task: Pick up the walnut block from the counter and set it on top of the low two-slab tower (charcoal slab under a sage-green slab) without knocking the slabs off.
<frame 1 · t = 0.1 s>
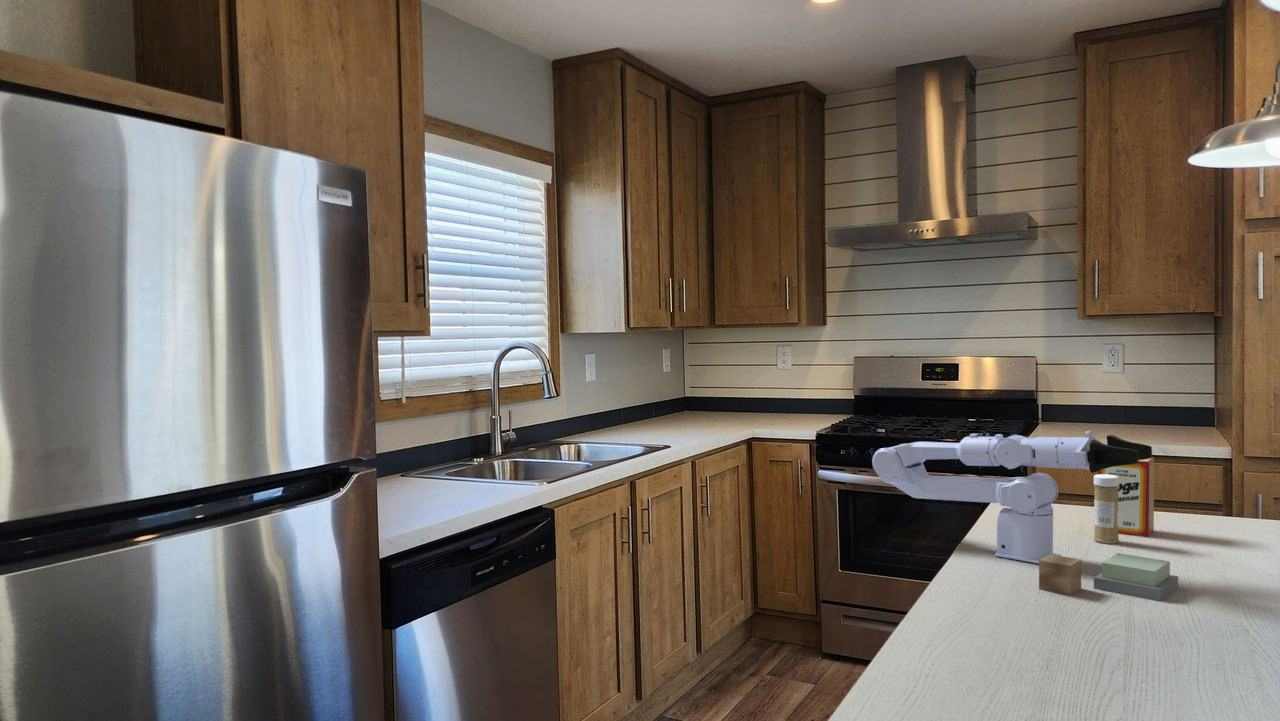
hand: (1144, 454, 154), 22 cm above the countertop, tool horizontal, fingers open, 7 cm apart
sprinkles bottle: (1105, 542, 180), on the countertop
walnut block: (1060, 589, 150), on the countertop
tower base: (1135, 591, 149), on the countertop, touching tower top
tower top: (1135, 576, 149), point 2 cm above the countertop, touching tower base
baking soda box: (1125, 531, 188), on the countertop
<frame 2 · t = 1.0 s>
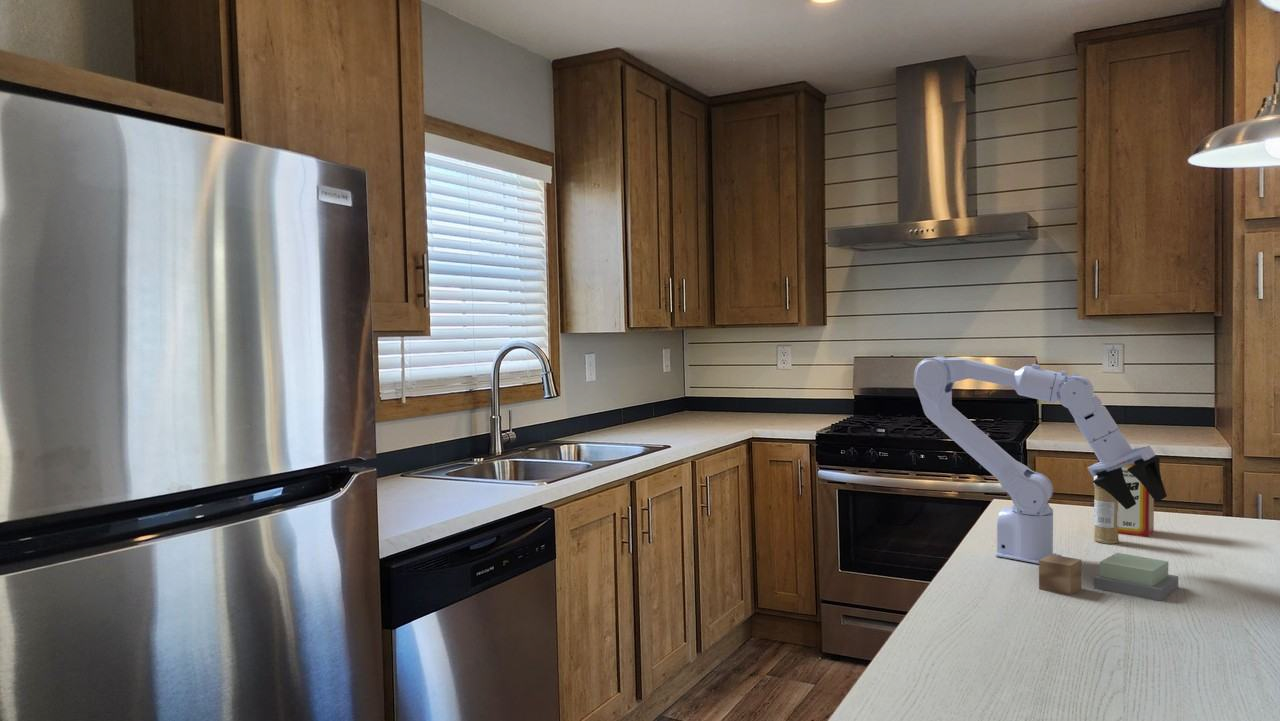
hand: (1146, 503, 158), 12 cm above the countertop, tool tilted 30°, fingers open, 7 cm apart
nothing on the countertop moved.
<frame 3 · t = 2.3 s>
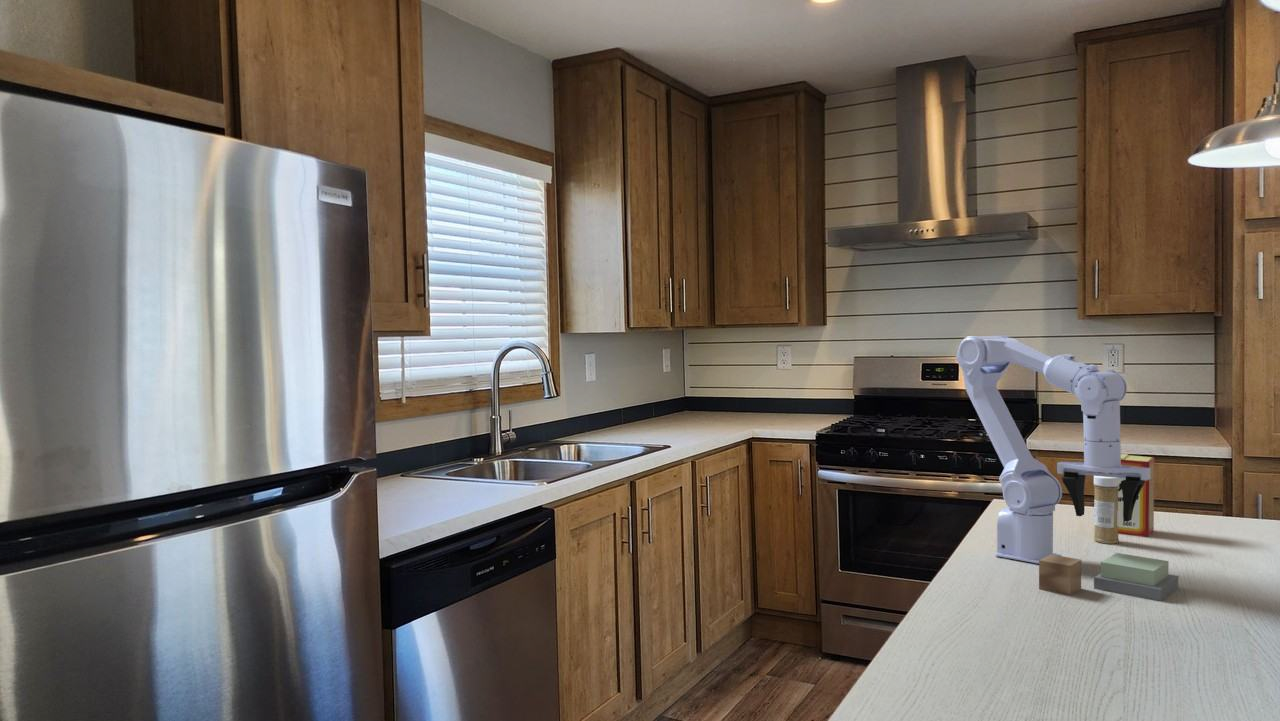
hand: (1103, 517, 155), 10 cm above the countertop, tool pointing down, fingers open, 7 cm apart
nothing on the countertop moved.
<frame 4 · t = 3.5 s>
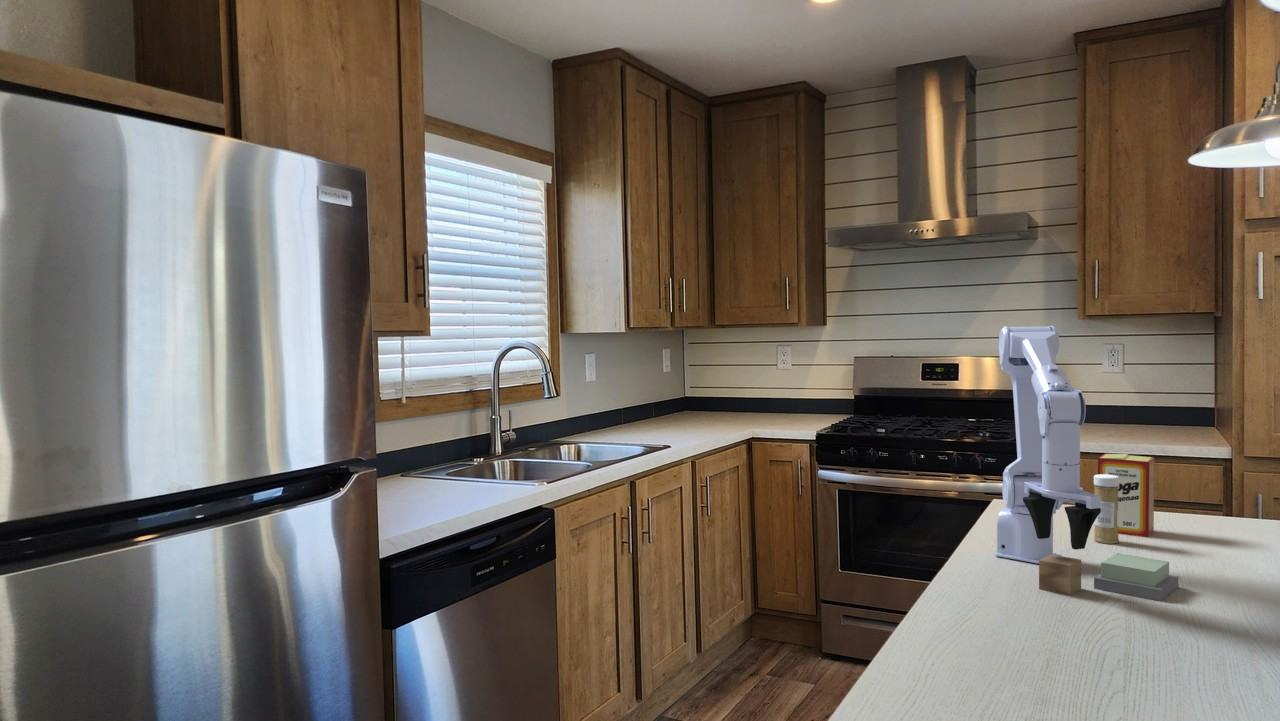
hand: (1060, 543, 149), 8 cm above the countertop, tool pointing down, fingers open, 7 cm apart
nothing on the countertop moved.
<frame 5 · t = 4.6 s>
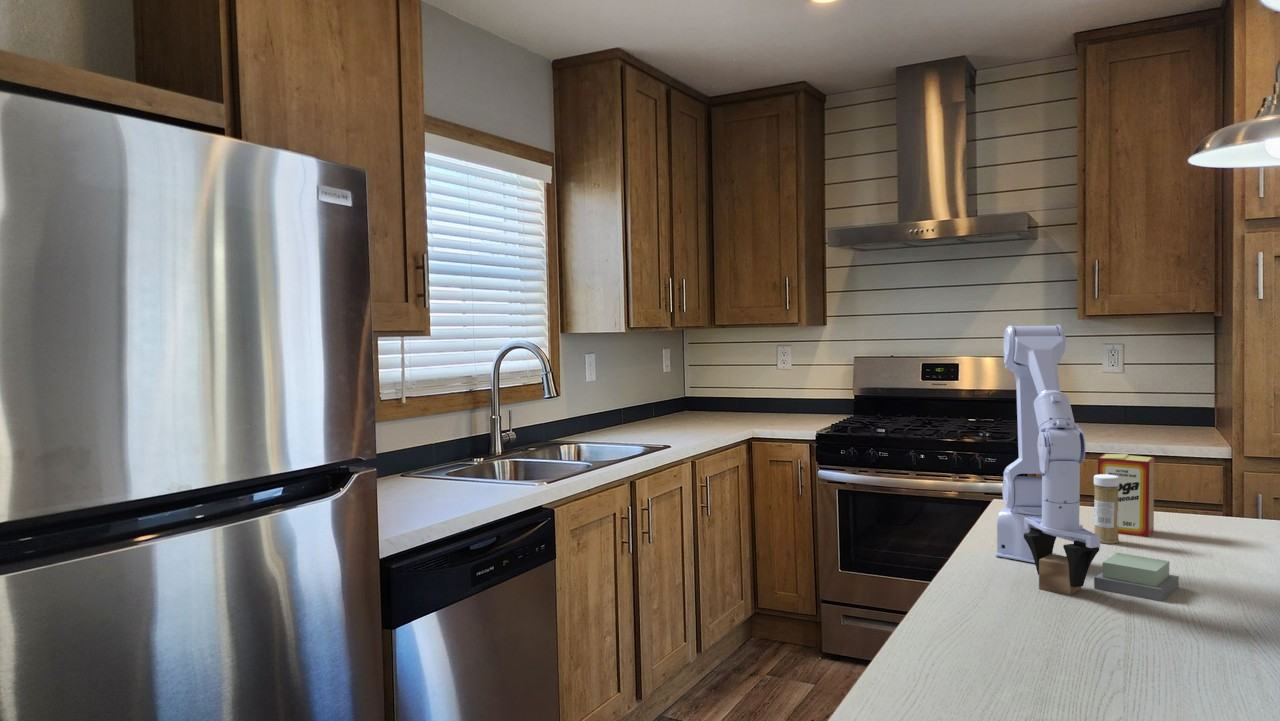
hand: (1060, 580, 149), 1 cm above the countertop, tool pointing down, fingers closed on walnut block, 7 cm apart
walnut block: (1060, 588, 150), on the countertop, touching gripper
tower base: (1136, 591, 149), on the countertop
tower top: (1135, 576, 149), point 2 cm above the countertop
everything else where it was.
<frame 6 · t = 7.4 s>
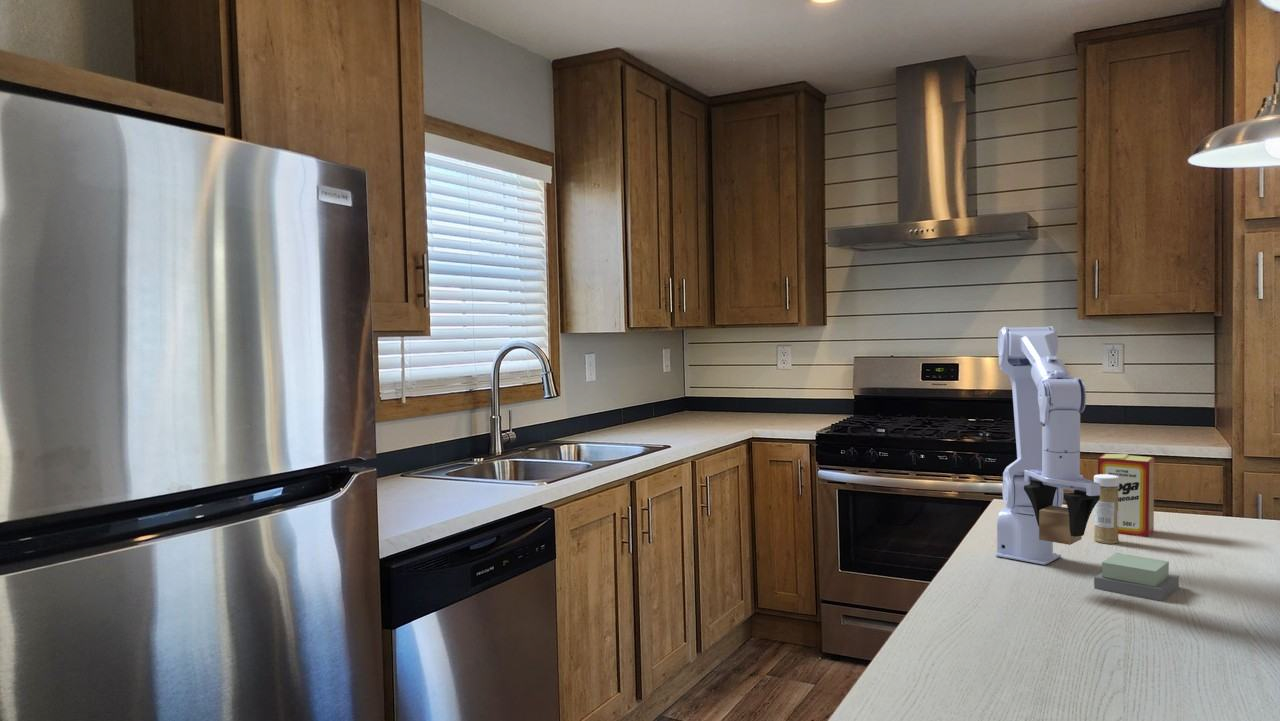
hand: (1060, 530, 149), 10 cm above the countertop, tool pointing down, fingers closed on walnut block, 7 cm apart
walnut block: (1060, 539, 149), point 8 cm above the countertop, touching gripper
tower base: (1136, 591, 149), on the countertop, touching tower top
tower top: (1135, 576, 149), point 2 cm above the countertop, touching tower base
everything else where it was.
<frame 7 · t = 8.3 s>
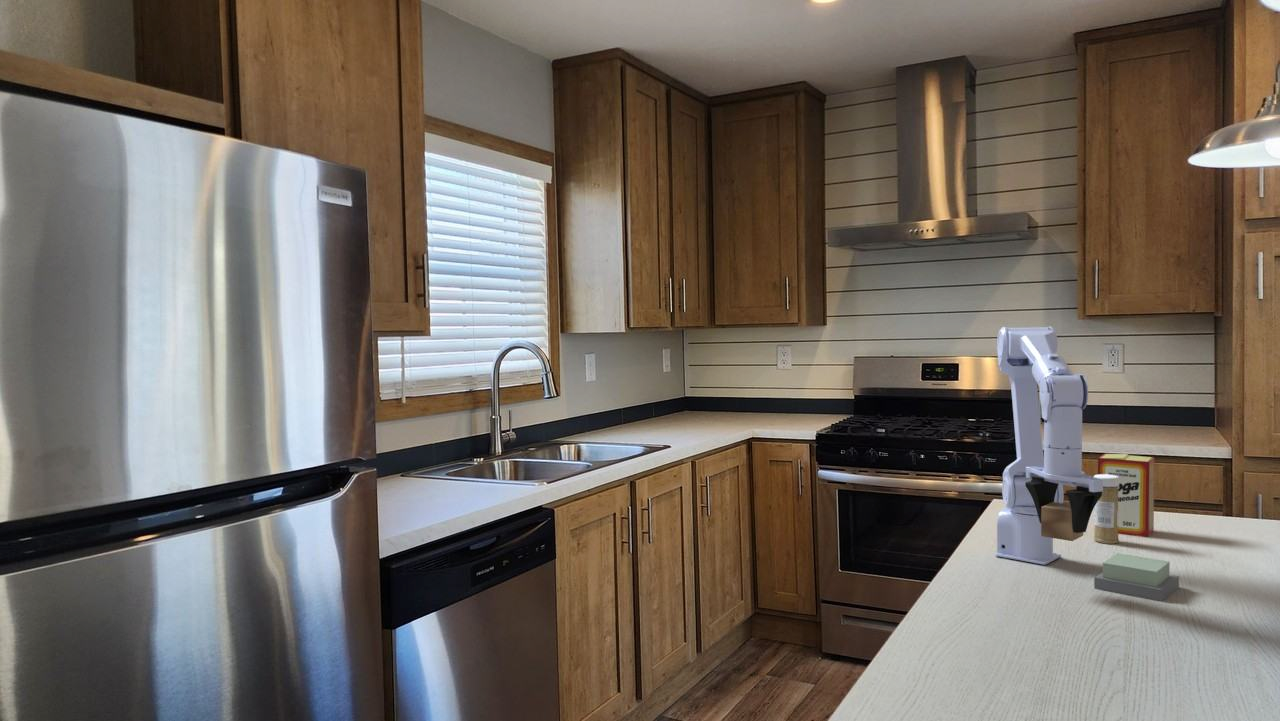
hand: (1062, 527, 149), 10 cm above the countertop, tool pointing down, fingers closed on walnut block, 7 cm apart
walnut block: (1062, 535, 149), point 9 cm above the countertop, touching gripper
everything else where it was.
when the fingers open (7 cm above the countertop, at t = 12.6 s): walnut block drops 2 cm, point 4 cm above the countertop.
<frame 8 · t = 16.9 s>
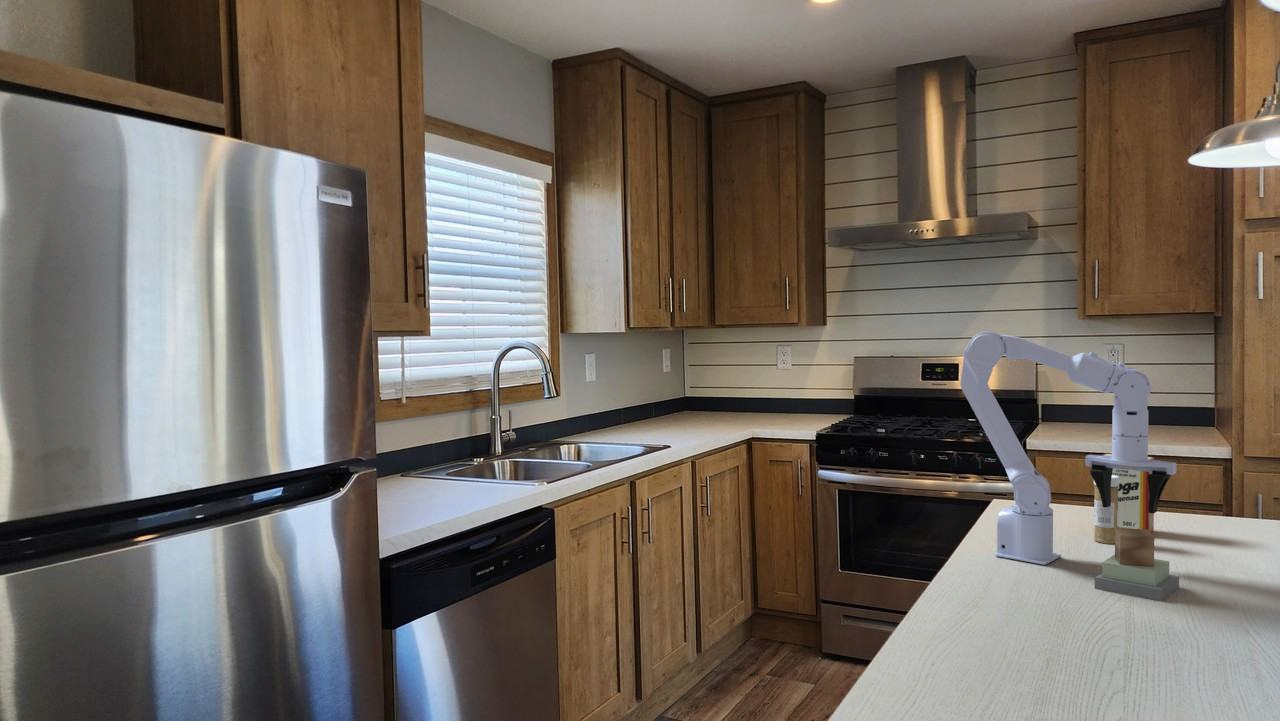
hand: (1129, 509, 162), 10 cm above the countertop, tool pointing down, fingers open, 7 cm apart
walnut block: (1134, 561, 149), point 4 cm above the countertop
everything else where it was.
at the end: walnut block 0.5 cm off-centre on the tower base, point 5.1 cm above the tower base's base; walnut block tilted 1°; tower top 0.2 cm off-centre on the tower base, point 2.5 cm above the tower base's base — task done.
